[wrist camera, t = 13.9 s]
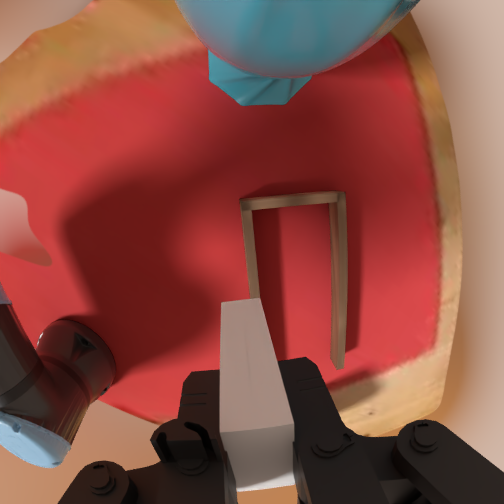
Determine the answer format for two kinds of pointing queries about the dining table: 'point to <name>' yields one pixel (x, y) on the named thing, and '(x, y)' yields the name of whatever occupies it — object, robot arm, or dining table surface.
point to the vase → (284, 40)
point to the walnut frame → (337, 254)
